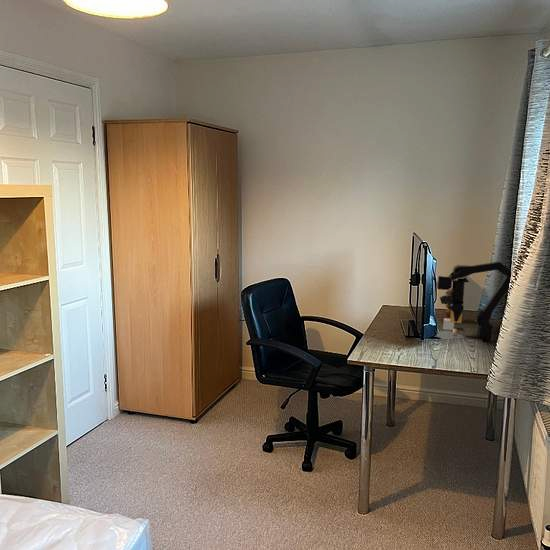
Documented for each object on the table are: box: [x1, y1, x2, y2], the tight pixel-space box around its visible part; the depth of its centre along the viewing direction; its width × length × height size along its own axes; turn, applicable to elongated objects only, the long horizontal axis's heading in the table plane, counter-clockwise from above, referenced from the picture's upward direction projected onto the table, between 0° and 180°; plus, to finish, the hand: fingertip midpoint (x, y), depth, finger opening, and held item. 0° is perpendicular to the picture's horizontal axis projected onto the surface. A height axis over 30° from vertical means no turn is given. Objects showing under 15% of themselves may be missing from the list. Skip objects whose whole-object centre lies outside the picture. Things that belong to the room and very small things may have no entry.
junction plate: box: [435, 328, 466, 340], centre depth 288 cm, size 14×14×5 cm
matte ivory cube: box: [442, 318, 455, 331], centre depth 302 cm, size 5×5×6 cm
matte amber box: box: [450, 310, 463, 324], centre depth 285 cm, size 5×5×6 cm
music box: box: [439, 287, 456, 325], centre depth 324 cm, size 15×11×20 cm
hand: (455, 320), depth 285 cm, fingers closed on matte amber box, 5 cm apart
